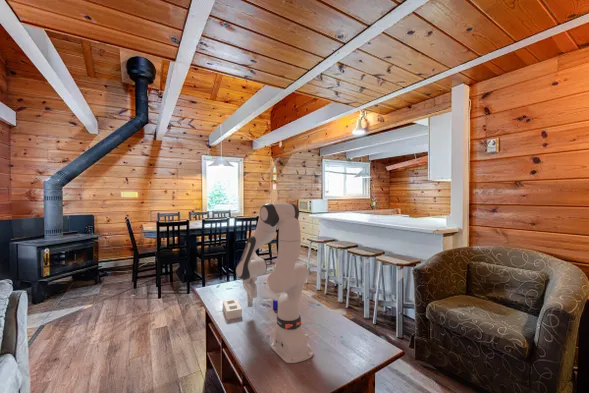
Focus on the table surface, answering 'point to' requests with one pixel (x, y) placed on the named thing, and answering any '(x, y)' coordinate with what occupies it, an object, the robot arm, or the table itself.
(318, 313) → the table surface
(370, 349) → the table surface
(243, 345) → the table surface
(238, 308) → the hole block
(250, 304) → the peg
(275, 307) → the cable clip
